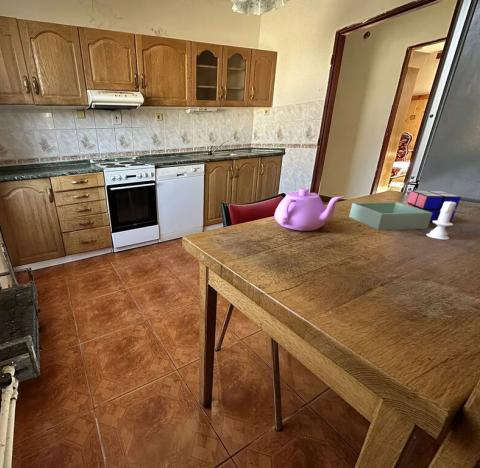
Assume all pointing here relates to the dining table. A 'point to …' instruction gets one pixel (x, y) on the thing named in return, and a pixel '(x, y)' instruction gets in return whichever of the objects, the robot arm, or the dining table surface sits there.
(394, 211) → the bin
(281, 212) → the teapot
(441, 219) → the candle
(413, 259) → the dining table surface
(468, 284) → the dining table surface
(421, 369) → the dining table surface
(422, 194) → the puzzle cube
